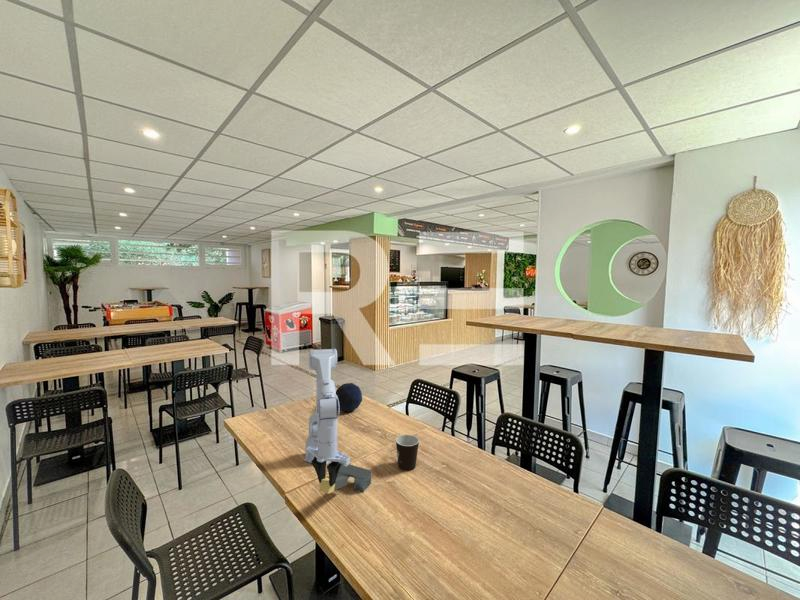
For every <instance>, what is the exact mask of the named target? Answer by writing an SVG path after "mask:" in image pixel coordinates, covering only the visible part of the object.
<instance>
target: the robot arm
mask: <svg viewBox="0 0 800 600" xmlns="http://www.w3.org/2000/svg"><path fill="white" fill-rule="evenodd" d="M337 365H338V351H337V349H336V348H329V349H328V348H324V349H310V350H309V352H308V367H309V369H310V370H313V371H314V372H315V374H316V376H315V377H316V389H315V390H316V394H315V395H316V403H315V411H314V412H313V413H311V414H310V415H309V418H308V436H307V438H306V439H305V458H304V459H303V461H304V462H307V463H310V464H311V466H312V467H313V468H314V470H315V472H316V476H317V479H318V483H319V484H321V480H322V479H325V478H326V474H327V473H326V472H327V471H328V478H329V485H330V486H333V485H334V484H335V483H336V478H337V474H338V472H339V469H340V467H341V465H342V464H344V466H346V467H347V466H348V465H349V464H350V465H351V457H350V456H348V455H346V454H345V453H343V452H341V451H339V450H338V418H339V417H340V409H339V400H338V397H337V395H336V391H337V389H336V383H335V381H334V380H333V379H331V378H332V376H331V372H332V369H335V367H336V366H337ZM326 470H327V471H326Z"/></svg>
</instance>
